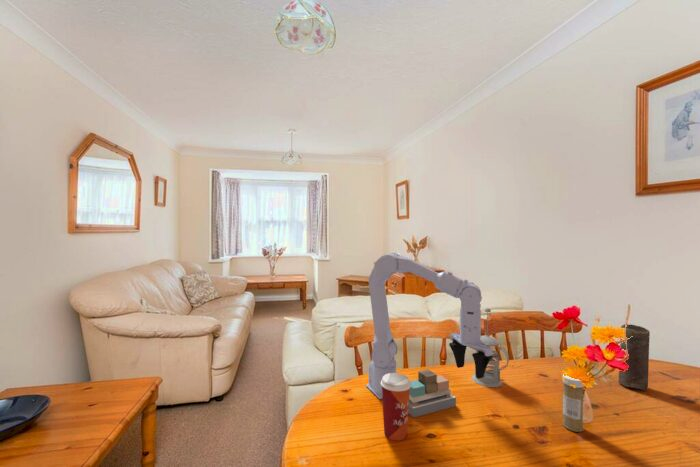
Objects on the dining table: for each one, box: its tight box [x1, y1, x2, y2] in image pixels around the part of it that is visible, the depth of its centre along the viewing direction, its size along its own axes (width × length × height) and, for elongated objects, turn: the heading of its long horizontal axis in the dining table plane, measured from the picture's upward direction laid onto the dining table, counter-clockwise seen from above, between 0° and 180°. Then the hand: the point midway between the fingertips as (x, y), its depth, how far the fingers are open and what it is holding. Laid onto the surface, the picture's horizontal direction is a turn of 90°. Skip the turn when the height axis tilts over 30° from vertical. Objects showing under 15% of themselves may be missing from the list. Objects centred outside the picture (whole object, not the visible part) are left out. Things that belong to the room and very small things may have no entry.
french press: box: [471, 307, 510, 388], centre depth 110 cm, size 10×12×25 cm
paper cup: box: [381, 372, 411, 442], centre depth 81 cm, size 8×8×14 cm
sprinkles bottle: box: [562, 373, 585, 433], centre depth 84 cm, size 5×5×14 cm
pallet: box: [409, 369, 452, 405], centre depth 95 cm, size 5×13×7 cm, turn 114°
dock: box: [408, 393, 457, 418], centre depth 95 cm, size 8×15×3 cm, turn 114°
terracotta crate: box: [436, 374, 450, 391], centre depth 96 cm, size 4×4×2 cm
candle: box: [618, 323, 650, 391], centre depth 107 cm, size 8×7×20 cm
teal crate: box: [409, 379, 425, 397], centre depth 93 cm, size 4×4×2 cm
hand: (469, 372), depth 93 cm, fingers open, 7 cm apart
